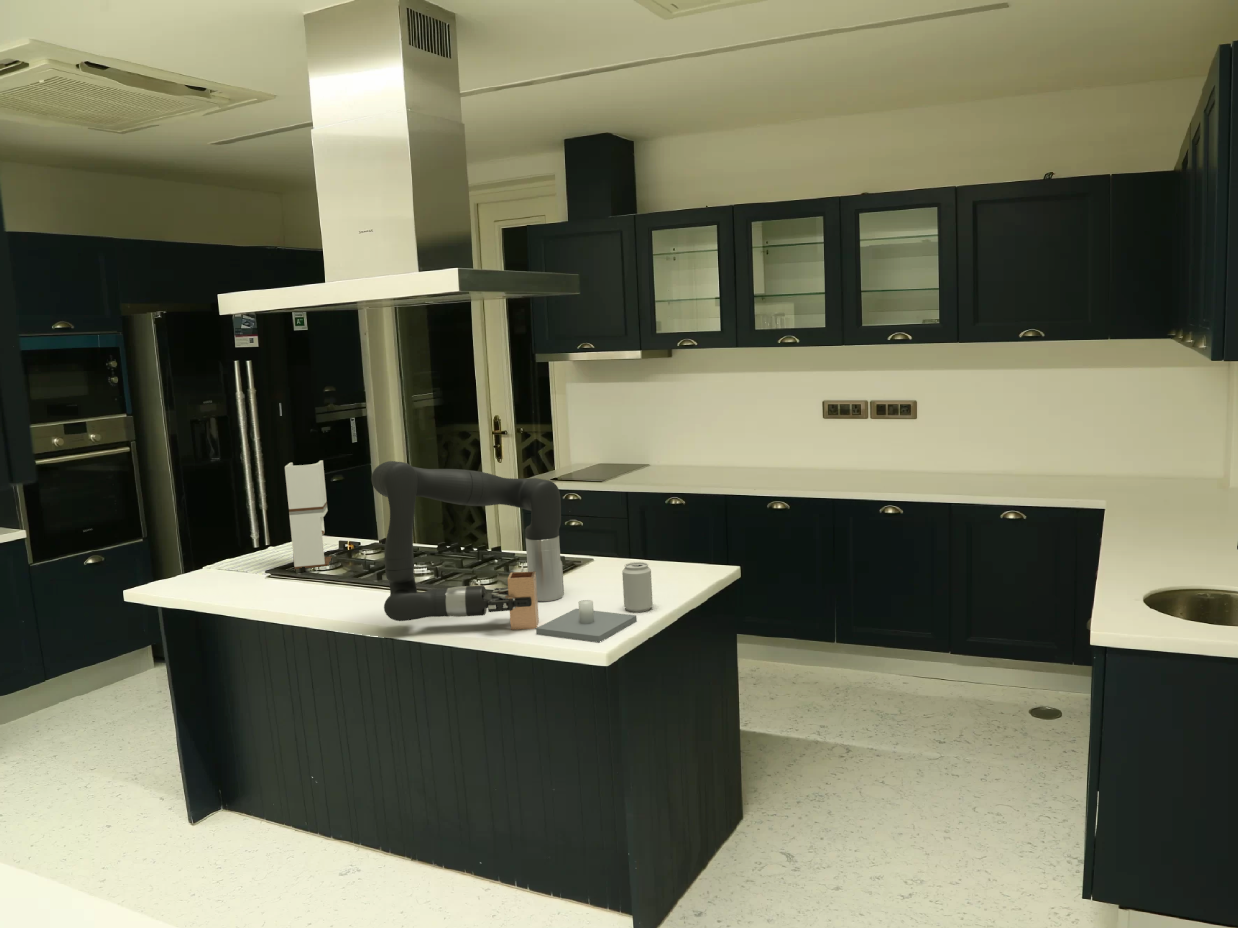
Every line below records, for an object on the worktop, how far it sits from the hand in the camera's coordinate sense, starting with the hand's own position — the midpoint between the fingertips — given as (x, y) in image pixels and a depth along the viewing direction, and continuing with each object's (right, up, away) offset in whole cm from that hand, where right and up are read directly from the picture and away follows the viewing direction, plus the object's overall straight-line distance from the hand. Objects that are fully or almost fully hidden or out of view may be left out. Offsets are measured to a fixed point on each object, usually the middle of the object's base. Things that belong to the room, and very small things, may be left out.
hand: (532, 597), depth 244 cm
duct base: (+14, -7, -4) cm, 16 cm away
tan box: (-2, -7, +1) cm, 7 cm away
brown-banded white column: (-80, -1, +80) cm, 113 cm away
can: (+27, -5, +10) cm, 29 cm away
